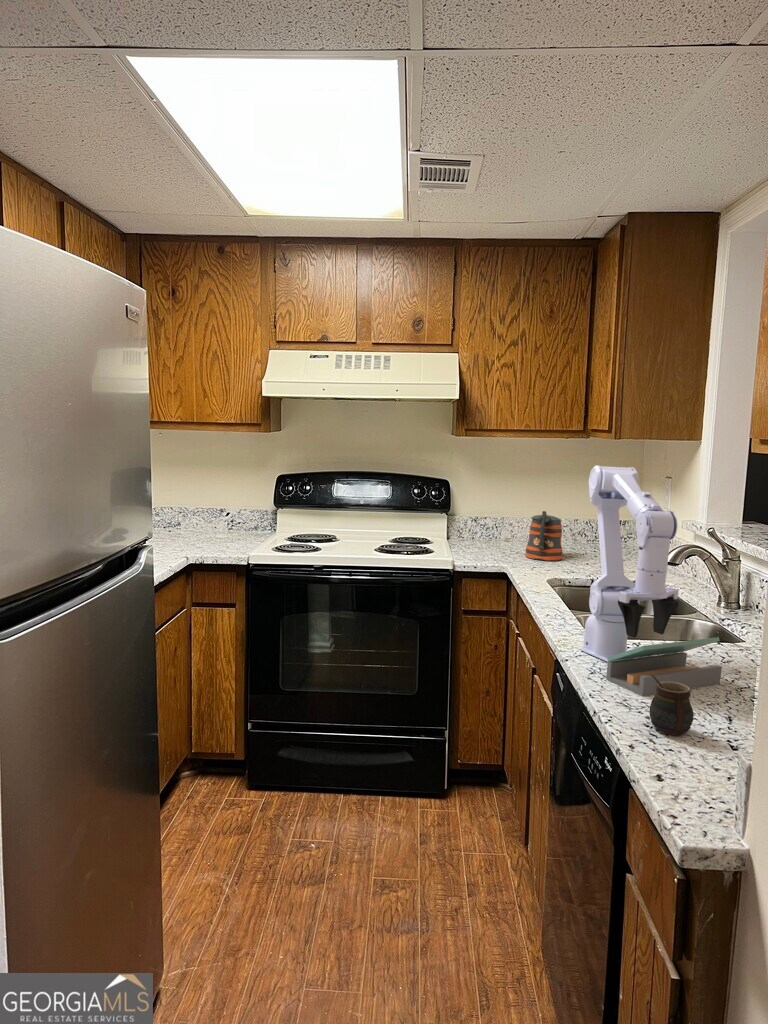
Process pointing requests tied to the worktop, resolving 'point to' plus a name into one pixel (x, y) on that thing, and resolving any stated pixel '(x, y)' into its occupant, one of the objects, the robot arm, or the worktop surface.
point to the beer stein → (545, 538)
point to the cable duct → (660, 673)
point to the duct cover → (662, 649)
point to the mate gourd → (671, 708)
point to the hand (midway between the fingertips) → (645, 634)
